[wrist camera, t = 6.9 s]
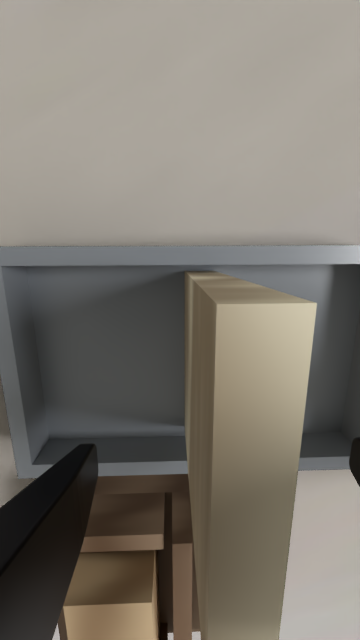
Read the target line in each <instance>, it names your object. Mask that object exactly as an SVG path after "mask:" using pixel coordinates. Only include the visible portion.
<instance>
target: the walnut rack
mask: <svg viewBox="0 0 360 640" xmlns="http://www.w3.org/2000/svg"><path fill="white" fill-rule="evenodd" d="M132 550H158V563H159V596H160V638H159V640H168V633H174V640H192V632H196V631H200V619H199V606H198V593H197V580H196V568H195V555H194V542H193V529H192V516H191V503H190V490H189V477H188V474H162V475H127V476H98V479H97V483H96V488H95V492H94V497H93V501H92V506H91V511H90V515H89V520H88V524H87V529H86V533H85V537H84V541H83V545H82V548H81V551H80V552H105V551H132ZM70 583H71V582H70ZM65 599H66V598H65ZM64 602H65V601H64ZM63 605H64V604H63ZM58 628H59V634H60V640H68V637H67V630H66V623H65V616H64V609H63V607H62V610H61V613H60V616H59V620H58Z"/></svg>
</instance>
